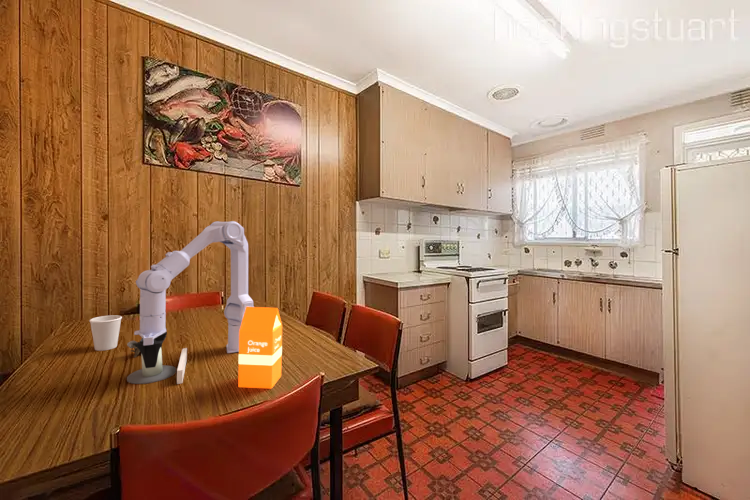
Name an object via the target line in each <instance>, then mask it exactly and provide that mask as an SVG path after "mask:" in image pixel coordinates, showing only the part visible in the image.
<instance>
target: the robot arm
mask: <svg viewBox="0 0 750 500" xmlns="http://www.w3.org/2000/svg"><path fill="white" fill-rule="evenodd" d="M212 243H222V244H224V245H225V246H226V247H227V248H228V249H229V250H230V296H229V297H228V298H227V299H226V305H225V308H224V311H223V315H224V317H225V318H226V319H227V323H228V328H227V329H228V334H227V336H228V337H227V344H226V345H225V346H226V348H225V349H226V353H227V354H232V353H233V354H234V353H239V330H240V327H241V323H242V320H243V316H244V313H245V309H246V307H255V306H254V300H253V299H252V297H251V296H250V295H249V242H248V239H247V237H246V235H245V227H243V226H242V225H241V224H240V223H238V221H234V220H231V221H218V220H217V221H213V222H212V223H211V224H210V225H208V226H206V227H205V228H204V229H203V230H202V231H201V232H200V233H199V234H198V235H197V236H195V237H194V238H193V239H192V240H191V241H190V242H189V243H188V244H186V245H185V246H184V247H183V248H182V249H181V250H173V251H172V252H171V251H168V252H166V253H165V257H164V258H162V259H161V260H160V261H159V262H157V263H156V264H152V265H150V268H151V269H148V270H143V272H141V273H140V274H139V275H138V277H137V279H136V280H135V284H136V285H135V286H137V288H138V289H139V290H140V292H139V293H140V297H139V330H134V333H133V334H134V336H137V335H139V336H140V337H141V339H142V338H143V341H142V342H140V341H137V342H138V343H137V347H138V349H139V350H140V352H139V353H140V355H141V354H142V356H143V360H144V364H145V367H146V368H152V367H155V366H156V363H157V359H158V353H159V350H160V347H161V348H162V346H163V343H164V341H165V340H164V338H165V336H166V337H167V334H168V333H167V328H166V315H167V313H166V311H167V310H166V307H167V306H166V305H167V303H166V302H167V301H166V299H167V298H166V297H167V296H166V295H167V293H166V292H167V289H168V288H170V285H171V283H172V282H171V281H172V280H173V279H174V278H176V277H177V276H178V275H179V274H180V273H182V272H183V271H184V270H185V269H186V268H188V267H189V266H190V262H191V261H190V260H191V259H192V258H193V257H194V256H196V255H197V254H199V253H200V252H201V251H202V250H204V249H205V248H207V247H208V246H210V245H211V244H212ZM165 339H166V338H165ZM163 340H164V341H163Z"/></svg>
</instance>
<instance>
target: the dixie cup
mask: <svg viewBox="0 0 750 500" xmlns="http://www.w3.org/2000/svg"><path fill="white" fill-rule="evenodd" d="M122 319H123V316H121V315H113V314H112V315H111V314H109V315H101V316H97V317H93V318H90V319H89V322H90V329H91V333H92V340H93V345H94V346H93V347H94V350H95V351H97V352H99V351H100V352H101V351H107V350H108V351H109V350H112V349H115V348H117V346H118V341H119V334H120V329H121V321H122Z"/></svg>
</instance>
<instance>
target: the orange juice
mask: <svg viewBox="0 0 750 500" xmlns="http://www.w3.org/2000/svg"><path fill="white" fill-rule="evenodd" d="M282 354H283V323H282V319H281V316H280V311H279V308H278V307H262V306H254V307H246V309H245V313H244V316H243V320H242V323H241V327H240V330H239V352H238V382H237V383H238V387H237V388H250V389H251V388H252V389H272V388H273V387H275V385H276V383H277V382H278V381H279V379H281V377H282V363H283V361H282V359H283V357H282Z"/></svg>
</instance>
